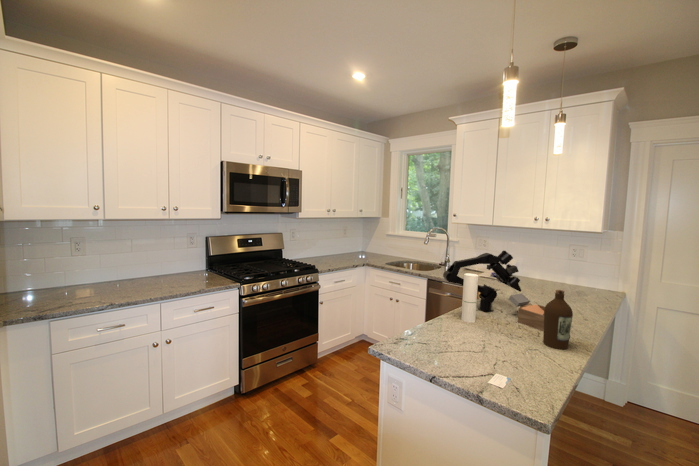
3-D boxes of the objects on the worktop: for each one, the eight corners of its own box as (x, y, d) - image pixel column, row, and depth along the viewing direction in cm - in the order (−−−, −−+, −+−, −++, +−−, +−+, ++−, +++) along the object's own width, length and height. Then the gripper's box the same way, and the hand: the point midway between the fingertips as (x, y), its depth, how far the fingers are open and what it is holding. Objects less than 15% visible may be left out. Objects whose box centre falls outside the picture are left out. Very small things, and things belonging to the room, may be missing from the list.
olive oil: (536, 341, 147) (540, 287, 145) (555, 339, 149) (559, 287, 147) (555, 351, 136) (560, 294, 134) (575, 349, 139) (580, 293, 137)
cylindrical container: (475, 319, 173) (478, 274, 171) (474, 323, 167) (478, 276, 165) (461, 317, 176) (464, 272, 174) (460, 321, 170) (463, 275, 168)
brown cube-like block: (534, 314, 185) (534, 306, 185) (524, 314, 185) (524, 305, 185) (529, 311, 191) (530, 303, 190) (519, 310, 191) (520, 302, 191)
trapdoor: (539, 332, 163) (543, 328, 161) (505, 299, 179) (508, 295, 178) (555, 327, 169) (558, 324, 168) (521, 296, 186) (524, 293, 184)
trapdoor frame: (544, 331, 159) (545, 316, 158) (517, 322, 171) (518, 308, 170) (563, 326, 167) (564, 312, 167) (537, 317, 180) (538, 304, 179)
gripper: (517, 263, 178) (536, 283, 179) (502, 258, 197) (519, 276, 197) (502, 277, 179) (520, 297, 179) (488, 270, 197) (505, 288, 198)
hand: (516, 289), depth 188 cm, fingers open, 9 cm apart
